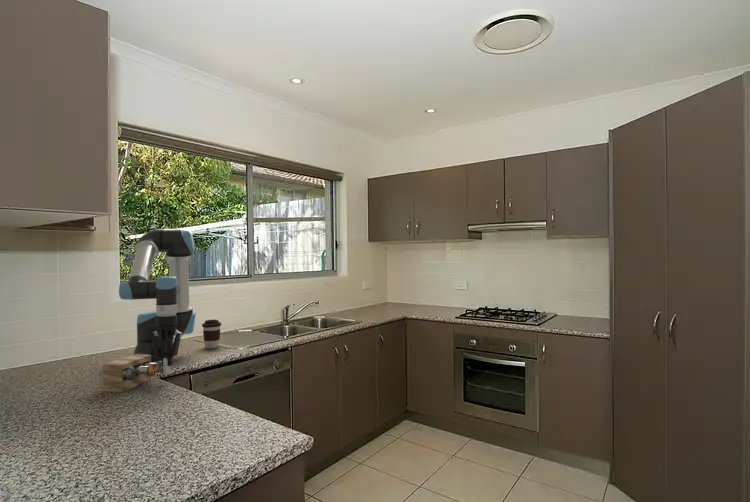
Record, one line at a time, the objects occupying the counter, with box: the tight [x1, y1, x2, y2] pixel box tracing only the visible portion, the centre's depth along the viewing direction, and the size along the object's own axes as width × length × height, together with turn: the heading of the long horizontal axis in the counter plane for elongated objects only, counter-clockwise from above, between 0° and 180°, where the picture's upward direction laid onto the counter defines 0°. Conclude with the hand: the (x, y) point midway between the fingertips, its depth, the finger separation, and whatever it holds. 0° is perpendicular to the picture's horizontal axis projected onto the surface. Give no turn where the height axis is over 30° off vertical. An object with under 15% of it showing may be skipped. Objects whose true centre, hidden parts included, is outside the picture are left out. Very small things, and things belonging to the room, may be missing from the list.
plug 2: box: [143, 360, 163, 374], centre depth 169 cm, size 5×13×5 cm, turn 81°
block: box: [102, 354, 152, 393], centre depth 164 cm, size 16×8×10 cm, turn 171°
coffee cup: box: [201, 319, 222, 350], centre depth 232 cm, size 10×10×15 cm
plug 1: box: [97, 368, 136, 380], centre depth 159 cm, size 5×13×5 cm, turn 81°
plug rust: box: [133, 364, 158, 378], centre depth 164 cm, size 5×13×5 cm, turn 81°
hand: (167, 373), depth 167 cm, fingers closed
